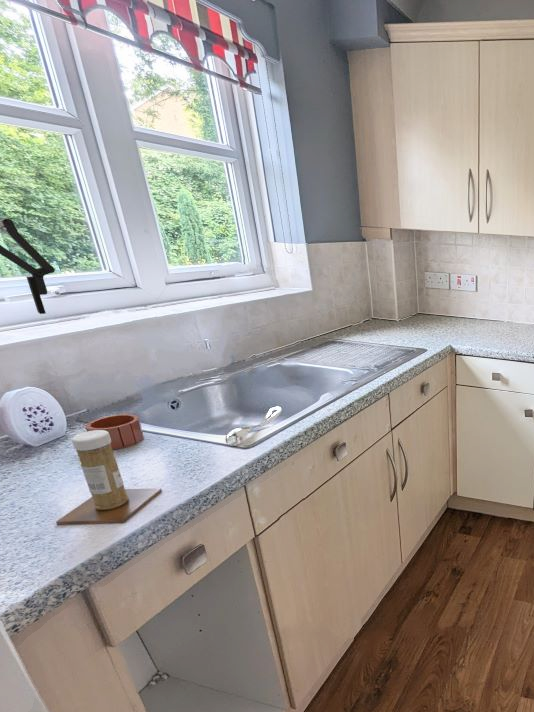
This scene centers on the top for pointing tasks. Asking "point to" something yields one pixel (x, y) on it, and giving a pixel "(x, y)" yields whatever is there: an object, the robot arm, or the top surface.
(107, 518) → the cork board
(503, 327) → the top surface
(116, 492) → the sprinkles bottle
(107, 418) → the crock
